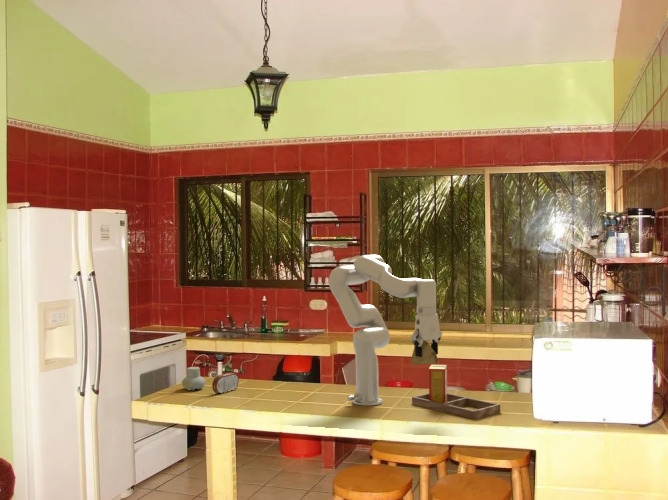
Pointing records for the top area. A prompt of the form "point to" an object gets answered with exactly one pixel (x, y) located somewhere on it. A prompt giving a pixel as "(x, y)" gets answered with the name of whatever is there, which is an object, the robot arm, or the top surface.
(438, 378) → the baking soda box
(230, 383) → the tin
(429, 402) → the divided brown tray
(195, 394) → the top surface
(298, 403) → the top surface
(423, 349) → the rock
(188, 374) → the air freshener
